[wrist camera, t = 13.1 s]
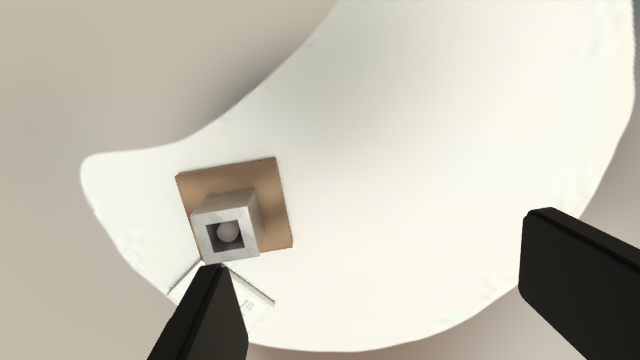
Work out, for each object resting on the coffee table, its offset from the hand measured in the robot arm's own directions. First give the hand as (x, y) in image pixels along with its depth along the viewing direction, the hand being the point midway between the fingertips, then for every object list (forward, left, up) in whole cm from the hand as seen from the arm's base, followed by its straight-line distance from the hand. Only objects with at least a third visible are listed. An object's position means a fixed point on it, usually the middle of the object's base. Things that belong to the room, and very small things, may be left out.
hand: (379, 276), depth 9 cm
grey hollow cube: (+8, -12, -27) cm, 30 cm away
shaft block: (+8, -12, -28) cm, 32 cm away
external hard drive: (+21, -17, -28) cm, 39 cm away
